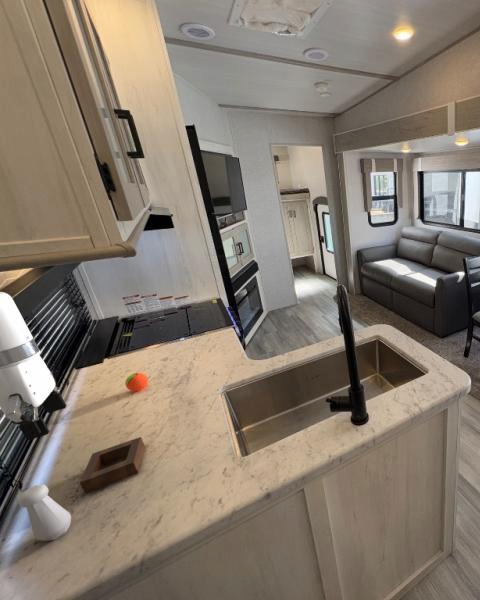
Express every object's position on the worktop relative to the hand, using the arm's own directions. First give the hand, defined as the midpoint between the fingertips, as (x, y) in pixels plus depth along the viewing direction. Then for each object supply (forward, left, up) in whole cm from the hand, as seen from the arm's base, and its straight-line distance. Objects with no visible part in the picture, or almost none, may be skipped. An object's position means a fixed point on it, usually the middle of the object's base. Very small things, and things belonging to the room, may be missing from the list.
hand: (48, 422), depth 67 cm
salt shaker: (-6, -3, -26) cm, 27 cm away
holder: (+2, +12, -26) cm, 29 cm away
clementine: (0, +57, -26) cm, 62 cm away
